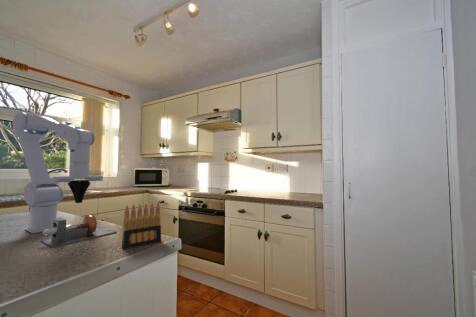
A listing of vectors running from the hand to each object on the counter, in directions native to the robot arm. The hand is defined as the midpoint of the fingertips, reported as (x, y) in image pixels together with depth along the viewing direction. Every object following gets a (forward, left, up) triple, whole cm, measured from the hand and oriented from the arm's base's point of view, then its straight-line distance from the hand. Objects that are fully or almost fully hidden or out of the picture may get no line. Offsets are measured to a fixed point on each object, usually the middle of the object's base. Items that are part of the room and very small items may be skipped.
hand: (78, 202), depth 77 cm
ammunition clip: (+28, +7, -11) cm, 31 cm away
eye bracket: (+5, -1, -10) cm, 12 cm away
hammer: (+5, -4, -10) cm, 12 cm away
